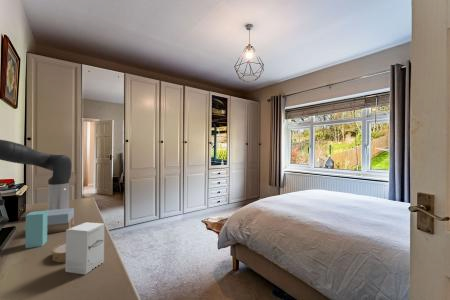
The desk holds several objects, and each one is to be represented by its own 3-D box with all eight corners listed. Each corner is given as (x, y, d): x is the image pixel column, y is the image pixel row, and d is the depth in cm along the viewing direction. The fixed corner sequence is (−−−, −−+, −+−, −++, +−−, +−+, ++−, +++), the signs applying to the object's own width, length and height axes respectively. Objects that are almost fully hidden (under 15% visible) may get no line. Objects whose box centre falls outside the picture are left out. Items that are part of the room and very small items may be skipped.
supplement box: (85, 275, 63) (86, 231, 63) (64, 272, 65) (64, 229, 65) (104, 262, 70) (105, 223, 70) (85, 260, 72) (85, 221, 72)
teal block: (31, 243, 85) (31, 211, 85) (47, 240, 87) (47, 210, 87) (25, 248, 80) (25, 215, 80) (42, 246, 82) (42, 213, 82)
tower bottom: (47, 227, 104) (47, 218, 104) (74, 224, 108) (74, 215, 108) (37, 235, 93) (37, 225, 93) (68, 231, 98) (68, 222, 98)
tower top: (45, 218, 103) (46, 210, 103) (73, 216, 108) (73, 207, 108) (36, 226, 93) (37, 216, 93) (68, 222, 98) (68, 213, 98)
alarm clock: (50, 245, 76) (98, 228, 86) (53, 258, 77) (101, 240, 86) (51, 257, 68) (104, 237, 77) (54, 272, 68) (107, 250, 78)
